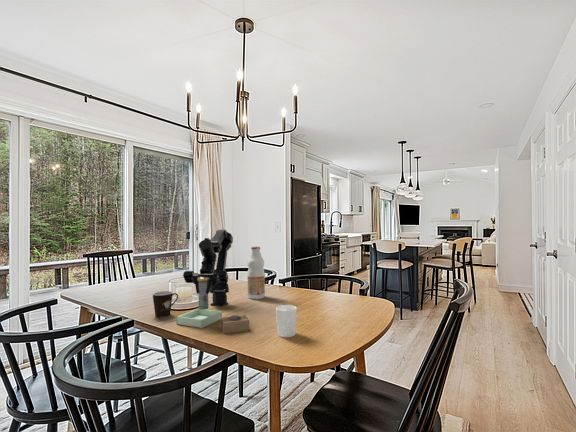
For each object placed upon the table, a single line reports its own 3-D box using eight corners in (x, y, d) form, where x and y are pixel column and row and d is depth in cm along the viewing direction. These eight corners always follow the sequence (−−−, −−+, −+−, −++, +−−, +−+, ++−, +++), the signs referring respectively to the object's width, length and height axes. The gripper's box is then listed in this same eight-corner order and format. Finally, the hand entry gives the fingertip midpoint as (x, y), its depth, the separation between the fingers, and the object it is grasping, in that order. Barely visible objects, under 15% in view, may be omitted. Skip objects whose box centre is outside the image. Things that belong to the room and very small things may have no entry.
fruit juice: (248, 300, 177) (248, 247, 177) (246, 296, 186) (246, 246, 186) (266, 298, 179) (265, 247, 179) (263, 295, 188) (262, 245, 188)
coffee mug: (153, 319, 145) (153, 296, 145) (151, 314, 153) (151, 292, 153) (181, 315, 151) (180, 293, 151) (177, 310, 158) (177, 289, 158)
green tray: (176, 323, 138) (176, 316, 138) (197, 315, 150) (197, 308, 150) (201, 327, 132) (201, 320, 132) (221, 318, 144) (221, 311, 144)
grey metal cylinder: (195, 308, 141) (195, 277, 140) (205, 306, 144) (205, 276, 144) (201, 310, 137) (200, 279, 137) (211, 308, 140) (211, 277, 140)
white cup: (275, 331, 127) (275, 305, 128) (295, 330, 128) (295, 304, 128) (276, 338, 120) (276, 311, 120) (298, 337, 120) (297, 310, 120)
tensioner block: (220, 327, 132) (220, 315, 132) (245, 324, 136) (245, 313, 136) (223, 333, 125) (223, 320, 126) (249, 330, 129) (249, 317, 129)
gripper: (231, 273, 156) (227, 303, 145) (192, 273, 156) (185, 303, 145) (228, 259, 148) (223, 289, 137) (186, 259, 148) (178, 289, 137)
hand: (202, 293), depth 139 cm, fingers closed on grey metal cylinder, 4 cm apart
